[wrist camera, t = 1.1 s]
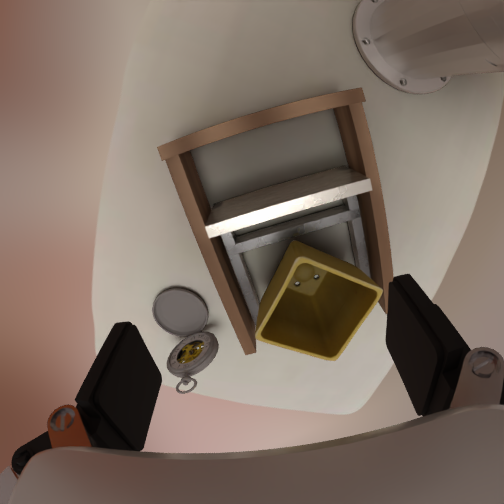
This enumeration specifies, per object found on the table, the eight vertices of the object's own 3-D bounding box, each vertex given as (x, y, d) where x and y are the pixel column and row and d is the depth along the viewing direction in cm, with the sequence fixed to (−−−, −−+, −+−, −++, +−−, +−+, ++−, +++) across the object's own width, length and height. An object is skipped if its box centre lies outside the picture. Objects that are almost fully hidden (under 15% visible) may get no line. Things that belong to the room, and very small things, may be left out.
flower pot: (285, 219, 32) (299, 255, 24) (355, 249, 33) (386, 290, 25) (251, 288, 35) (252, 339, 27) (318, 311, 36) (335, 363, 28)
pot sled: (344, 165, 29) (370, 178, 23) (367, 290, 35) (389, 324, 29) (213, 204, 31) (204, 227, 24) (257, 322, 36) (260, 362, 30)
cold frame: (340, 93, 27) (361, 87, 21) (379, 288, 35) (399, 315, 30) (173, 142, 28) (156, 147, 23) (245, 327, 37) (245, 361, 32)
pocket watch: (165, 276, 34) (141, 330, 25) (231, 307, 36) (227, 368, 27) (143, 325, 37) (119, 381, 28) (202, 352, 39) (193, 412, 30)
